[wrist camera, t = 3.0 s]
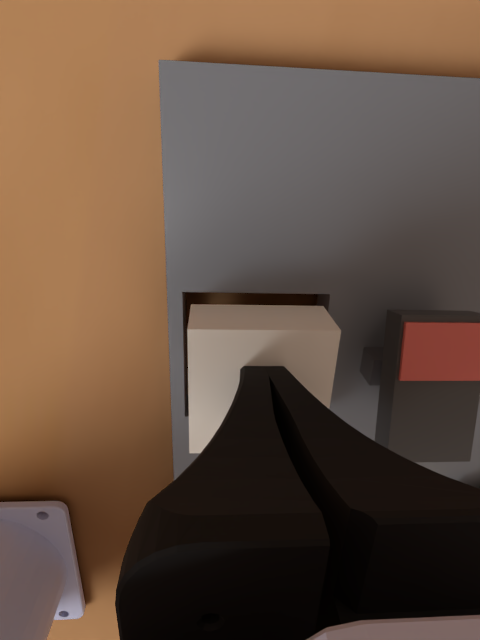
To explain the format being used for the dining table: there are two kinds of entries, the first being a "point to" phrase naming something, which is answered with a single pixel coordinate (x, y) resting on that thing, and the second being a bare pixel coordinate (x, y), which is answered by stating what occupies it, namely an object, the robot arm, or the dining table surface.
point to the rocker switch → (429, 384)
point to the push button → (253, 355)
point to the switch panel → (321, 208)
